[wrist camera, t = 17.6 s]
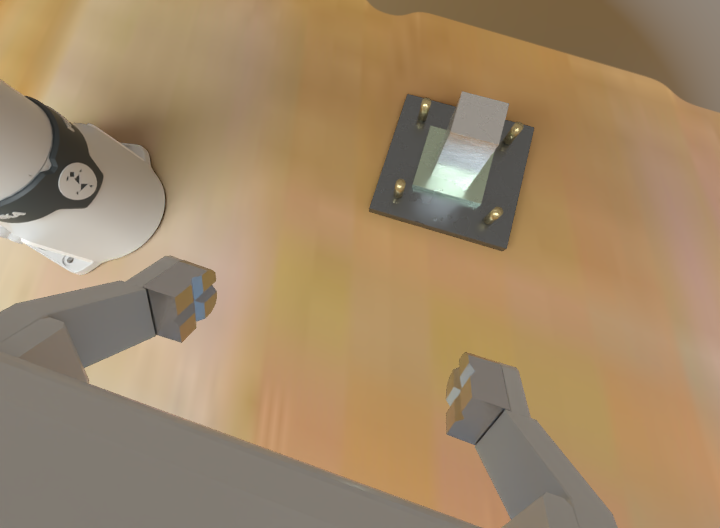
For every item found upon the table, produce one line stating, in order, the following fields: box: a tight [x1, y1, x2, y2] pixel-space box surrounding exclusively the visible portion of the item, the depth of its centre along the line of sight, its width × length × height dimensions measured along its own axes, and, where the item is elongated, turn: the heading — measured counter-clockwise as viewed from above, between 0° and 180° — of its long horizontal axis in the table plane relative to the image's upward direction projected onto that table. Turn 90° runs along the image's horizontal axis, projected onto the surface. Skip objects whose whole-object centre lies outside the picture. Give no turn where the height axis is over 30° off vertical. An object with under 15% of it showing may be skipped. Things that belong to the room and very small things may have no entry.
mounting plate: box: [369, 94, 534, 251], centre depth 41 cm, size 18×18×4 cm
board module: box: [412, 92, 509, 206], centre depth 37 cm, size 9×9×10 cm
